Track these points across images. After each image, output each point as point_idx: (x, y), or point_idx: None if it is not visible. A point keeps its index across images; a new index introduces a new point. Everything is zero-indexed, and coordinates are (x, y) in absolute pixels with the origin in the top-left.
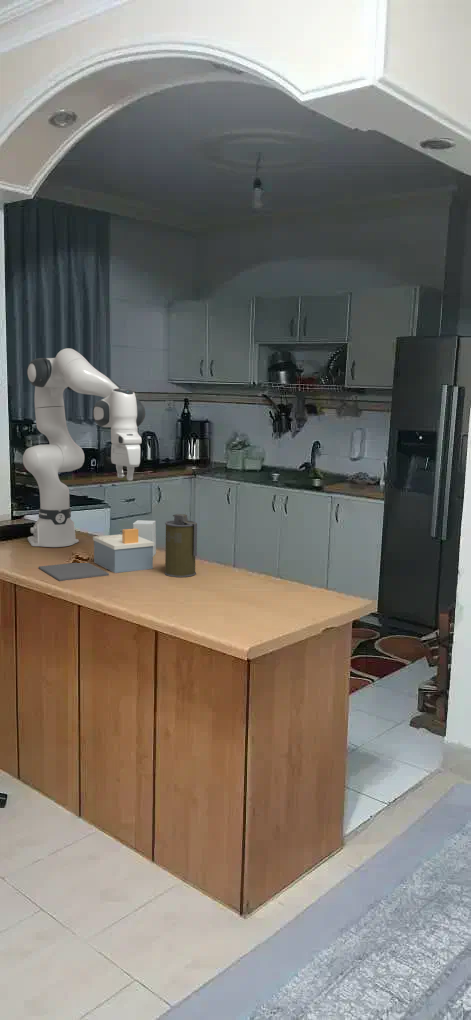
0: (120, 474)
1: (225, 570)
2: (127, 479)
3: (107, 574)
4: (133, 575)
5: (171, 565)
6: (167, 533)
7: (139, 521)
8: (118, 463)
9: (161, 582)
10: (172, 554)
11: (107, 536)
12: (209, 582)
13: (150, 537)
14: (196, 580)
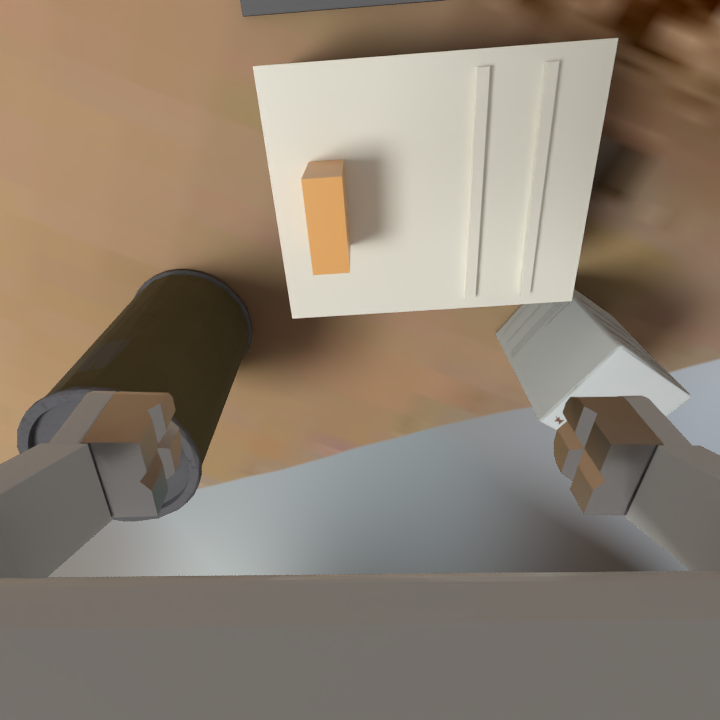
0: (587, 447)
1: (206, 460)
2: (122, 393)
3: (241, 6)
4: (211, 139)
5: (137, 297)
6: (103, 361)
7: (641, 391)
8: (550, 600)
9: (61, 206)
10: (115, 322)
11: (538, 129)
12: (44, 360)
13: (523, 374)
14: (79, 334)
